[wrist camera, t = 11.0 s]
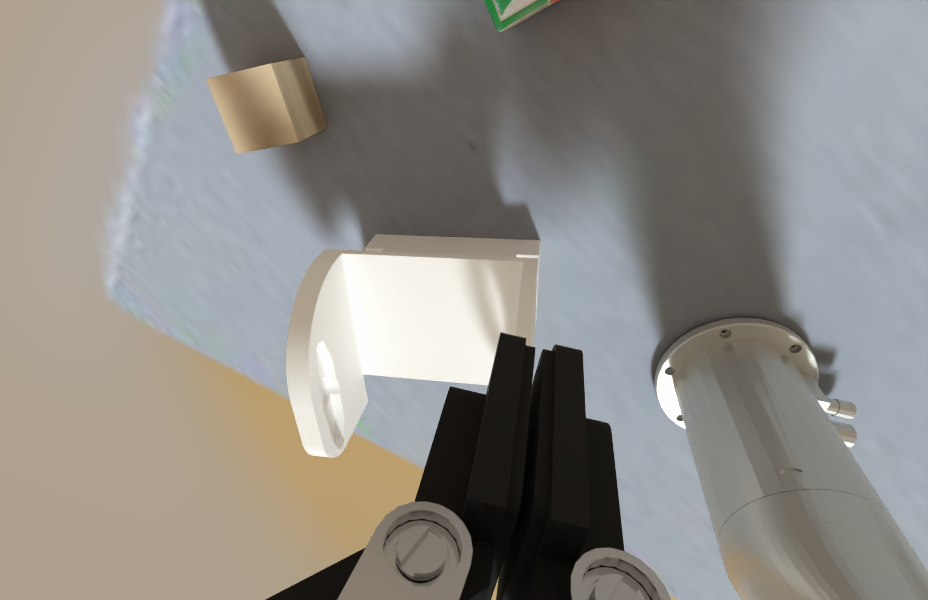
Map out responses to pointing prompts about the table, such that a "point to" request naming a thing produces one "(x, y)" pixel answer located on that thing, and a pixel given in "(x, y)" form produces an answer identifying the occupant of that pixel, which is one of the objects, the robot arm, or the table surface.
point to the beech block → (268, 105)
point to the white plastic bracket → (402, 322)
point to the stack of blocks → (514, 11)
